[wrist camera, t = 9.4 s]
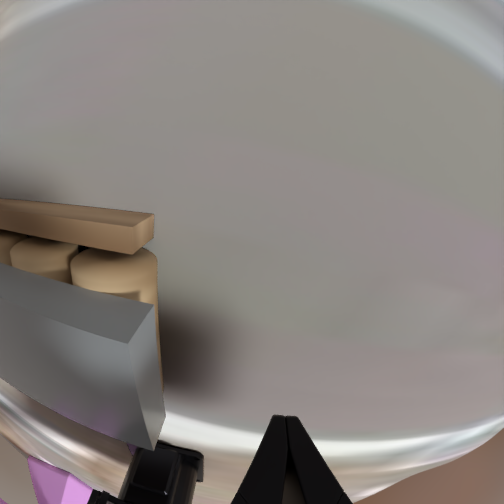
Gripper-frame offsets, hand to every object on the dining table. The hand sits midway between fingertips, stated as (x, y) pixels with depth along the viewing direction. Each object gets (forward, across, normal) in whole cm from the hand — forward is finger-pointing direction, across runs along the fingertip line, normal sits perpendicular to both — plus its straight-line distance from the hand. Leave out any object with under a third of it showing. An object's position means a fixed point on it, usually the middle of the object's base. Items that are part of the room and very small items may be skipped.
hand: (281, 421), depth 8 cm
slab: (+1, +10, 0) cm, 11 cm away
